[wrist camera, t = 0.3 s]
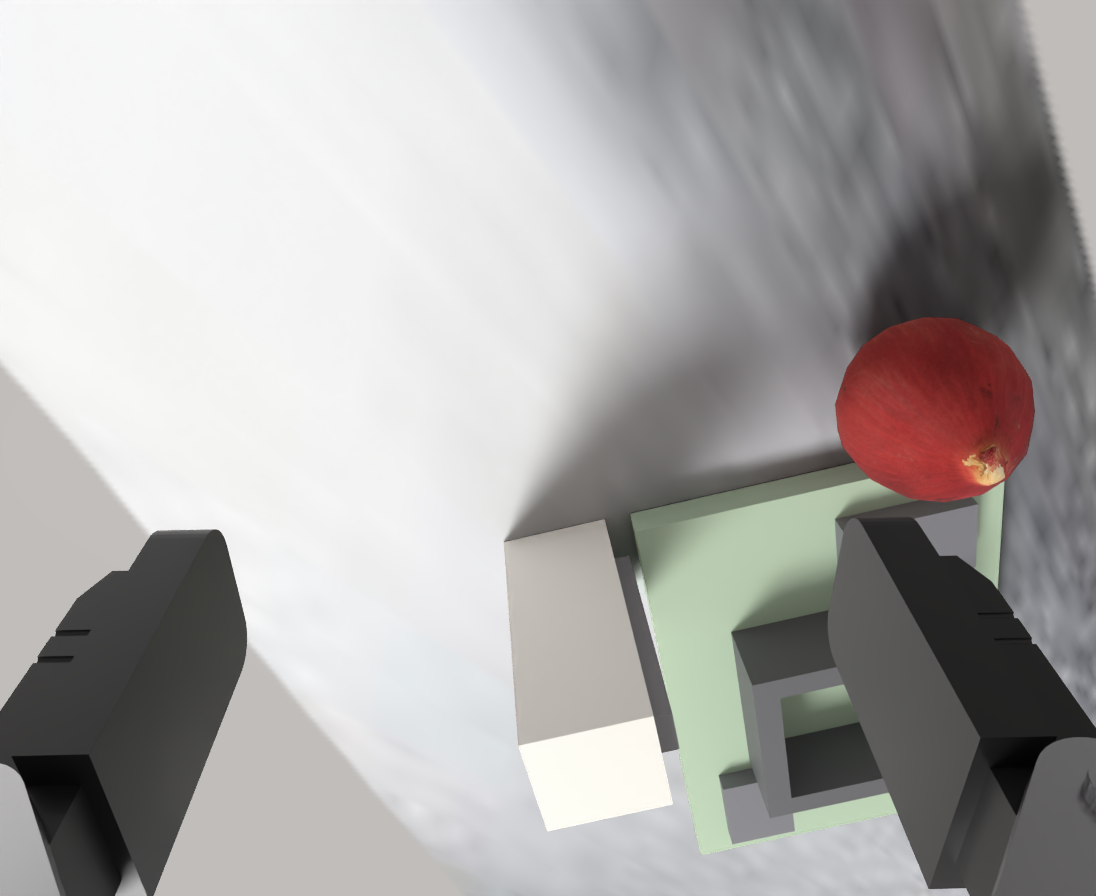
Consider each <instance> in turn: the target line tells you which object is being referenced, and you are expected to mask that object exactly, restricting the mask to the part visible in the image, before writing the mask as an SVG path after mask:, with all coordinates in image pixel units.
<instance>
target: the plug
mask: <svg viewBox="0 0 1096 896" xmlns="http://www.w3.org/2000/svg"><path fill="white" fill-rule="evenodd" d="M504 550H505V565H506V579H507V593H508V607H509V622H510V636H511V650H512V664H513V678H514V693H515V707H516V721H517V735H518V747H519V750H520V753H521V755H522V758H523V761H524V764H525V767H526V770H527V773H528V776H529V779H530V782H531V785H532V788H533V791H534V793H535V796H536V799H537V802H538V805H539V808H540V811H541V814H542V817H543V820H544V823H545V826H546V829H547V831H552V830H556V829H561V828H566V827H570V826H575V825H580V824H584V823H589V822H593V821H598V820H603V819H607V818H612V817H617V816H621V815H626V814H630V813H635V812H640V811H644V810H649V809H654V808H658V807H663V806H668V805H672V804H673V802H672V798H671V793H670V789H669V784H668V780H667V775H666V771H665V766H664V761H663V757H662V753H663V752H668V751H672V750H677V749H680V748H679V743H678V738H677V733H676V728H675V723H674V719H673V714H672V710H671V706H670V703H669V699H668V695H667V692H666V688H665V684H664V681H663V677H662V674H661V670H660V666H659V663H658V659H657V655H656V652H655V648H654V644H653V641H652V637H651V633H650V630H649V626H648V622H647V619H646V615H645V611H644V608H643V604H642V601H641V597H640V593H639V590H638V586H637V582H636V579H635V575H634V571H633V568H632V564H631V560H630V557H629V556H624V557H620V558H615V559H614V555H613V551H612V547H611V543H610V539H609V535H608V531H607V527H606V523H605V519H603V520H598V521H594V522H590V523H585V524H581V525H576V526H572V527H568V528H563V529H559V530H554V531H550V532H546V533H541V534H537V535H533V536H528V537H524V538H519V539H515V540H511V541H506V542H504Z"/></svg>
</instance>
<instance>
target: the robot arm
mask: <svg viewBox="0 0 1096 896" xmlns="http://www.w3.org/2000/svg"><path fill="white" fill-rule="evenodd" d="M1013 613H1014V612H1013V611H1012V609H1011V608H1010V606H1009V605H1008V603H1007V602H1006V601H1005V599H1004V598H1003V596H1002V595H1001V594H1000V592H999V591H998V589H997V588H996V587H995V585H994V584H993V582H992V581H991V580H989V579H988V578H987V577H985V576H984V575H982V574H981V573H980V572H978V571H977V570H976V569H974V568H973V567H972V566H970V565H969V564H968V563H966V562H965V561H964V560H962V559H961V558H960V557H958V556H957V555H955V556H939V554H938V553H937V551H936V550H935V548H934V546H933V545H932V543H931V542H930V540H929V539H928V537H927V536H926V534H925V533H924V531H923V530H922V528H921V527H920V525H919V524H918V522H917V521H916V520H915V519H913V518H911V517H886V518H852V519H850V520H849V521H848V522H847V524H846V526H845V529H844V533H843V538H842V543H841V548H840V553H839V558H838V563H837V569H836V574H835V579H834V584H833V589H832V594H831V599H830V605H829V611H828V636H829V643H830V648H831V652H832V656H833V659H834V661H835V664H836V666H837V669H838V671H839V673H840V676H841V678H842V681H843V683H844V686H845V688H846V690H847V693H848V695H849V698H850V700H851V702H852V705H853V707H854V710H855V712H856V715H857V717H858V719H859V722H860V724H861V727H862V729H863V731H864V734H865V736H866V739H867V741H868V743H869V746H870V748H871V751H872V753H873V756H874V758H875V760H876V763H877V765H878V768H879V770H880V772H881V775H882V777H883V780H884V782H885V784H886V787H887V789H888V792H889V794H890V797H891V799H892V801H893V804H894V806H895V809H896V811H897V813H898V816H899V818H900V821H901V823H902V825H903V828H904V830H905V833H906V835H907V838H908V840H909V842H910V845H911V847H912V850H913V852H914V854H915V857H916V859H917V862H918V864H919V866H920V869H921V871H922V874H923V876H924V879H925V881H926V883H927V886H928V888H929V889H947V888H967V891H968V893H969V895H970V896H1096V728H1095V726H1094V725H1093V724H1092V722H1091V721H1090V719H1089V718H1088V716H1087V715H1086V714H1085V712H1084V711H1083V709H1082V708H1081V707H1080V705H1079V704H1078V702H1077V701H1076V700H1075V698H1074V697H1073V695H1072V694H1071V692H1070V691H1069V690H1068V688H1067V687H1066V685H1065V684H1064V683H1063V681H1062V680H1061V678H1060V677H1059V675H1058V674H1057V673H1056V671H1055V670H1054V668H1053V667H1052V666H1051V664H1050V663H1049V661H1048V660H1047V659H1046V657H1045V656H1044V654H1043V653H1042V651H1041V650H1040V649H1039V647H1038V646H1037V644H1032V641H1031V639H1032V637H1031V636H1030V635H1029V633H1028V632H1027V630H1026V629H1025V627H1024V626H1023V625H1022V623H1021V622H1020V620H1019V619H1018V618H1014V616H1013ZM246 647H247V628H246V621H245V616H244V612H243V608H242V604H241V600H240V596H239V592H238V588H237V584H236V580H235V576H234V572H233V568H232V564H231V560H230V556H229V552H228V548H227V545H226V541H225V539H224V536H223V535H222V533H221V532H220V531H219V530H168V531H156V532H154V533H153V534H152V535H151V536H150V538H149V539H148V541H147V542H146V544H145V546H144V547H143V548H142V550H141V552H140V553H139V555H138V556H137V558H136V560H135V561H134V563H133V564H132V566H131V567H130V569H129V571H112V572H111V573H109V574H108V575H107V576H105V577H104V578H103V579H102V580H100V581H99V582H98V583H96V584H95V585H94V586H93V587H91V588H90V589H89V590H88V591H86V592H85V593H84V594H83V595H81V596H80V597H79V598H77V600H76V601H75V602H74V604H73V605H72V607H71V608H70V610H69V611H68V613H67V614H66V616H65V617H64V619H63V620H62V621H61V623H60V624H59V626H58V628H57V629H56V635H55V637H51V638H50V639H49V641H48V642H47V643H46V645H45V646H44V648H43V649H42V651H41V652H40V654H39V655H38V662H37V663H33V664H32V666H31V667H30V668H29V670H28V671H27V673H26V675H25V676H24V677H23V679H22V680H21V682H20V683H19V684H18V686H17V688H16V689H15V690H14V692H13V693H12V695H11V696H10V698H9V699H8V701H7V702H6V704H5V705H4V706H3V708H2V710H1V711H0V896H153V895H154V893H155V890H156V887H157V885H158V883H159V880H160V877H161V875H162V872H163V870H164V867H165V865H166V862H167V859H168V857H169V855H170V852H171V849H172V847H173V844H174V842H175V839H176V837H177V834H178V831H179V829H180V827H181V824H182V821H183V819H184V816H185V814H186V811H187V809H188V806H189V804H190V801H191V799H192V796H193V794H194V791H195V788H196V786H197V783H198V781H199V778H200V776H201V773H202V771H203V768H204V766H205V763H206V760H207V758H208V755H209V753H210V750H211V748H212V745H213V742H214V740H215V738H216V735H217V732H218V730H219V727H220V725H221V722H222V719H223V717H224V715H225V712H226V710H227V707H228V705H229V702H230V699H231V697H232V694H233V691H234V689H235V687H236V684H237V682H238V679H239V677H240V674H241V671H242V668H243V665H244V661H245V656H246Z"/></svg>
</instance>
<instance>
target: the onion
mask: <svg viewBox="0 0 1096 896" xmlns="http://www.w3.org/2000/svg"><path fill="white" fill-rule="evenodd" d="M835 406H836V417H837V428H838V433H839V436H840V440H841V443H842V446H843V447H844V449H845V450H846V451H847V453H848V454H849V455H850V457H851V458H852V459H853V460H854V462H855V463H856V464H857V466H858V467H859V468H860V469H861V470H862V471H863V472H864V473H865V474H866V475H867V476H868V477H869V478H870V479H871V480H873V481H875V482H876V483H878V484H880V485H882V486H884V487H886V488H888V489H890V490H892V491H894V492H896V493H899V494H901V495H903V496H905V497H907V498H909V499H916V500H925V501H938V502H950V501H955V500H960V499H964V498H969V497H974V496H978V495H982V494H985V493H986V492H988V491H989V490H991V489H992V488H994V487H995V486H997V485H999V484H1000V483H1002V482H1003V481H1005V480H1006V479H1008V477H1009V476H1010V475H1011V473H1012V472H1013V471H1014V470H1015V468H1016V467H1017V466H1018V465H1019V463H1020V462H1021V461H1022V459H1023V458H1024V457H1025V456H1026V454H1027V451H1028V447H1029V442H1030V437H1031V432H1032V428H1033V421H1034V413H1035V408H1034V399H1033V388H1032V381H1031V379H1030V377H1029V376H1028V374H1027V372H1026V370H1025V369H1024V367H1023V366H1022V364H1021V363H1020V361H1019V360H1018V359H1017V357H1016V356H1015V354H1014V353H1013V351H1012V350H1011V348H1010V347H1009V346H1008V345H1007V344H1005V343H1004V342H1003V341H1002V340H1001V339H999V338H998V337H997V336H995V335H993V334H991V333H989V332H987V331H985V330H983V329H981V328H979V327H976V326H974V325H972V324H970V323H968V322H965V321H963V320H960V319H958V318H938V317H924V318H919V319H914V320H911V321H907V322H904V323H901V324H898V325H894V326H891V327H888V328H886V329H885V330H884V331H882V332H881V333H879V334H878V335H876V336H875V337H874V338H872V339H871V340H869V341H868V342H866V343H865V344H864V345H863V346H862V347H861V349H860V350H859V352H858V353H857V354H856V356H855V357H854V359H853V360H852V361H851V363H850V364H849V366H848V367H847V369H846V372H845V375H844V379H843V382H842V385H841V388H840V391H839V394H838V397H837V400H836V403H835Z"/></svg>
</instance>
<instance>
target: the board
mask: <svg viewBox="0 0 1096 896" xmlns="http://www.w3.org/2000/svg"><path fill="white" fill-rule="evenodd" d="M1003 496H1004V481H1003V482H1002V483H1000V484H999V485H997V486H995V487H994V488H992V489H991V490H989V491H988V492H986V493H985V494H982V495H978V496H974V497H969V498H964V499H960V500H955V501H950V502H938V501H925V500H916V499H909V498H907V497H905V496H903V495H901V494H899V493H896V492H894V491H892V490H890V489H888V488H886V487H884V486H882V485H880V484H878V483H876V482H875V481H873V480H871V479H870V478H869V477H868V476H867V475H866V474H865V473H864V472H863V471H862V470H861V469H860V468H859V467H858V466H857V464H856V463H850V464H846V465H842V466H837V467H833V468H828V469H824V470H820V471H815V472H811V473H806V474H802V475H798V476H793V477H789V478H785V479H780V480H776V481H771V482H767V483H763V484H758V485H754V486H750V487H745V488H741V489H736V490H732V491H728V492H723V493H719V494H714V495H710V496H706V497H701V498H697V499H693V500H688V501H684V502H679V503H675V504H671V505H666V506H662V507H658V508H653V509H649V510H644V511H640V512H636V513H631V514H630V516H631V521H632V526H633V531H634V536H635V541H636V546H637V550H638V555H639V560H640V565H641V570H642V575H643V580H644V585H645V589H646V594H647V599H648V604H649V609H650V614H651V619H652V624H653V629H654V633H655V638H656V643H657V648H658V653H659V658H660V663H661V668H662V673H663V677H664V682H665V687H666V692H667V695H668V699H669V703H670V706H671V710H672V714H673V719H674V723H675V728H676V733H677V738H678V743H679V748H680V749H678V751H679V756H680V760H681V765H682V770H683V775H684V780H685V785H686V790H687V795H688V800H689V804H690V809H691V814H692V819H693V824H694V829H695V834H696V837H697V841H698V845H699V849H700V853H701V855H704V854H709V853H714V852H718V851H723V850H728V849H732V848H737V847H742V846H746V845H751V844H756V843H760V842H765V841H769V840H774V839H779V838H783V837H788V836H793V835H797V834H802V833H807V832H811V831H816V830H821V829H825V828H830V827H835V826H839V825H844V824H849V823H853V822H858V821H863V820H867V819H872V818H877V817H881V816H886V815H891V814H895V813H897V811H896V809H895V806H894V804H893V801H892V799H891V797H890V794H889V792H888V789H887V787H886V784H885V782H884V780H883V777H882V775H881V772H880V770H879V768H878V765H877V763H876V760H875V758H874V756H873V753H872V751H871V748H870V746H869V743H868V741H867V739H866V736H865V734H864V731H863V729H862V727H861V724H860V722H859V719H858V717H857V715H856V712H855V710H854V707H853V705H852V702H851V700H850V698H849V695H848V693H847V690H846V688H845V686H844V683H843V681H842V678H841V676H840V673H839V671H838V669H837V666H836V664H835V661H834V659H833V656H832V652H831V648H830V643H829V636H828V611H829V605H830V599H831V594H832V589H833V584H834V579H835V574H836V569H837V563H838V558H839V553H840V548H841V543H842V538H843V533H844V529H845V526H846V524H847V522H848V521H849V520H850V519H852V518H886V517H911V518H913V519H915V520H916V521H917V522H918V524H919V525H920V527H921V528H922V530H923V531H924V533H925V534H926V536H927V537H928V539H929V540H930V542H931V543H932V545H933V546H934V548H935V550H936V551H937V553H938V554H939V556H955V555H957V556H958V557H960V558H961V559H962V560H964V561H965V562H966V563H968V564H969V565H970V566H972V567H973V568H974V569H976V570H977V571H978V572H980V573H981V574H982V575H984V576H985V577H987V578H988V579H989V580H991V581H992V582H993V584H994V585H995V587H996V588H997V589H998V576H999V560H1000V544H1001V528H1002V512H1003Z"/></svg>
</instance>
